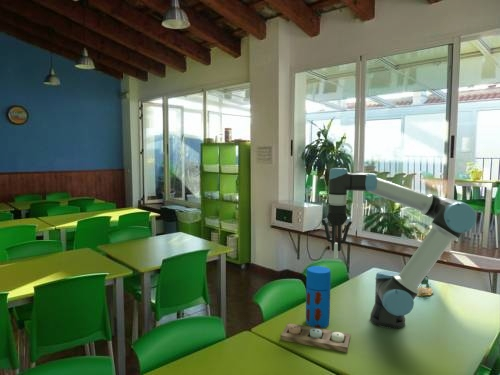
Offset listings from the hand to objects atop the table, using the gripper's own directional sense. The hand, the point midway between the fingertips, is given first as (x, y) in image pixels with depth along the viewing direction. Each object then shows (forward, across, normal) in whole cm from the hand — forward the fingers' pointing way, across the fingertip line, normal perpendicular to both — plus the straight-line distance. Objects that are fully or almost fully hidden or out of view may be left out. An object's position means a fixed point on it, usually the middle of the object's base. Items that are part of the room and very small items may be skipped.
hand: (335, 258), depth 161 cm
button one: (+32, -3, +11) cm, 34 cm away
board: (+32, +6, +11) cm, 35 cm away
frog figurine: (+33, -41, -64) cm, 83 cm away
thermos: (+33, +8, -5) cm, 34 cm away
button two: (+32, +6, +11) cm, 34 cm away
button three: (+32, +15, +11) cm, 37 cm away
